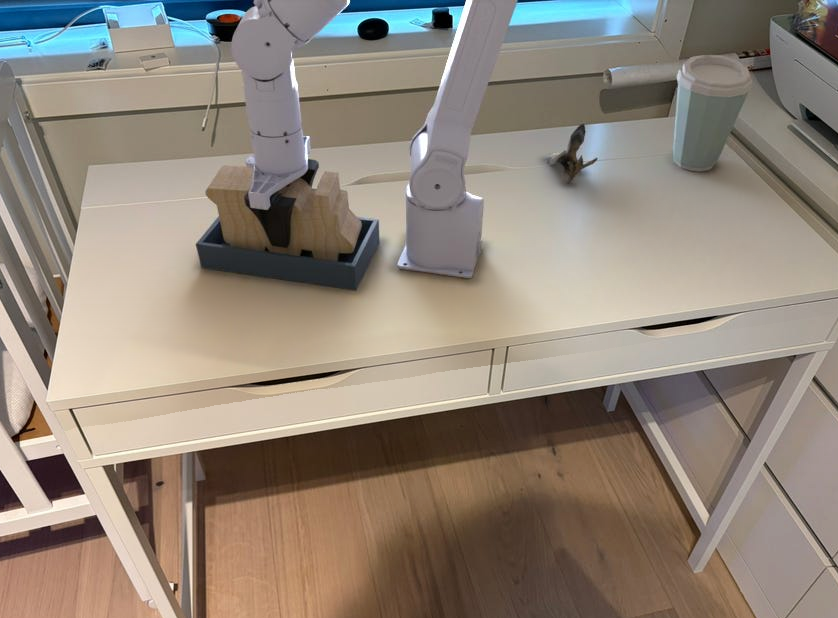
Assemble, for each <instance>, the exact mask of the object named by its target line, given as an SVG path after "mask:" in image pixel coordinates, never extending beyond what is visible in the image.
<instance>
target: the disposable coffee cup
mask: <svg viewBox="0 0 838 618" xmlns="http://www.w3.org/2000/svg"><path fill="white" fill-rule="evenodd" d="M676 81H677V93H676V105H675V106H676V107H675V119H674V132H673V145H672V157H673V162H674V164H675V165H676V166H677V167H679V168H680V169H683V170H687V171H689V172H705V171H710V170H711V169H712V168H713V167H714V166H715V164H716V163H718V161H719V160H720V159H719V158H720V156H721V154H722V151H723V150H724V148H725V146H726V143H727V141H728V139H729V137H730V134H731V132H732V130H733V128H734V126H735V123H736V121H737V118H738V117H739V115H740V112H741V110H742V108H743V106H744V103H745V101H746V99H747V97H748V94H749V92H750V91H751V90H752V89H753V88H752V87H753V79H752V77H751V73H750V71H749V68H748V67H747V66H745V65H744V64H743V63H742V62H740V61H739V60H736V59H734V58H731V57H728V56H724V55H716V54H701V55H694V56H691V57H689V58H688V59H687V60H686V61H685V62H684V63H683V65H682V67H681V68H680V69H678V71H677V75H676Z"/></svg>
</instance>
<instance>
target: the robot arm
mask: <svg viewBox="0 0 838 618" xmlns="http://www.w3.org/2000/svg"><path fill="white" fill-rule="evenodd" d="M350 2H351V0H253V4H254V6H252V7H250V8H249V9H248V10H247V11H245V12H244V14H243V16H242V18H241V19H240V21H239V23H238V25H237V27H236V29H235V30H234V32H233V35H232V39H231V44H230V45H231V46H230V47H231V54H232V58H233V60H234V62H235V65H236V66H237V67H238V68H239V69H240V71H241V77H242V83H243V87H242V89H243V95H244V102H245V103H244V104H245V109H246V114H247V121H248V127H249V133H250V140H251V146H252V153H253V154H252V155H250V156H249V157H247V159H246V160H245V167H247V168H252V169H253V178H252V186H251V189H250V190H249V191H248V192H247V193H246V195H245V196H244V200H245V205H246V206H247V207H248V208H249V209H250V210H251V211H252V212H253V213H254V214H255V216H256V217H257V218H258V220H259V221H260V223H261V225H262V227H263V229H264V231H265V233H266V235H267V237H268V239H269V241H270V243H271V245H272V246H276V247H283V248H287V247H288V246H289V243H290V222H291V214H292V210H293V206H294V204H295V201H296V198H291V197H283V196H282V193H280V194H279V190H280V189H282V188H283V187H285V186H286V187H289V186H290V184H291V182H293V181H294V180H296V179H298V178H301V179H303V180H305V181H306V182H307V183H308V184H309V185H310V187H311V188H313V184H314V180H315V178H316V175H317V172H318V170H319V168H320V164H319V161H318V160H316V159H313V158H312V159H311V158H309V154H310V153H311V151H312V147H311V138H310V135H309V136H308V135H304V132H303V124H302V113H301V107H300V106H301V105H300V104H301V103H300V96H299V85H298V82H297V80H296V73H295V64H294V57H293V52H294V50H295V49H298V48H301V47H304V46H306V45H307V44H308V43H310V41H311V40H313V38H314V37H316V36H317V35H318V34H319V33H320V32H321V31H322V30H323V29H324V28H326V26H327V25H328V24H330V23H331V22H332V21H333V20H334V19H335V18H336V17H337V16H338V15H339V14H340V13H341V12H343V11H344V10H345V9H346V8H347V7H348V6H349V5H350ZM517 5H518V0H465V4H464V7H463V11H462V13H461V17H460V20H459V23H458V27H457V30H456V33H455V36H454V38H453V42H452V45H451V49H450V52H449V55H448V59H447V61H446V65H445V69H444V71H443V74H442V77H441V81H440V84H439V87H438V90H437V94H436V96H435V99H434V103H433V105H432V107H431V109H430V110H429V111H428V113H427V116H426V119H425V122H424V124H422V127H420V129H419V130H418V131H417V132H416V133H415V134H414V135H413V136H412V139H411V141H410V144H409V156H410V175H409V181H408V184H407V185H406V187H405V245H404V248H403V250H402V252H401V255H400V257H399V259H398V261H397V264H396V265H397V269H400V270H406V271H407V270H408V271H415V272H422V273H429V274H435V275H443V276H450V277H456V278H464V279H472V278H473V275H474V272H475V269H476V265H477V262H478V258H479V255H481V251H482V246H483V240H482V236H483V235H482V233H483V232H482V231H483V222H484V221H483V220H484V204H485V202H484V201H485V200H484V198H483V197H481V196H477V195H474V194H471V193H470V192H467V189H466V188H467V187H466V176H465V172H464V171H465V166H466V163H467V160H468V156H469V151H470V146H471V145H470V144H471V136H472V131H473V127H474V125H475V122H476V119H477V116H478V113H479V111H480V108H481V105H482V102H483V100H484V97H485V94H486V91H487V89H488V85H489V82H490V79H491V77H492V74H493V71H494V69H495V66H496V63H497V60H498V58H499V54H500V51H501V50H502V49H501V48H502V45H503V43H504V41H505V37H506V35H507V32H508V29H509V26H510V24H511V21H512V18H513V16H514V15H513V14H514V13H515V9H516V6H517Z"/></svg>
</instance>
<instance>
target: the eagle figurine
mask: <svg viewBox="0 0 838 618" xmlns="http://www.w3.org/2000/svg"><path fill="white" fill-rule="evenodd" d="M586 132H587V131H586V126H585V123H580V124H579V125H578V126H577V127H576V128H575V130H573V132H572V133H571V134H570V137H569V140H568V143H567V146H566V150H562V151H561V152H559V151H558V152H554V153H551V154H549V155H548V156H547V157H545V158H544V161H545V162H546V164H548V165H550V166H553V165H556V164H557V163H559V164H560V165H561V166H562V168H563V170H564V171H563V173H564V174H567V175H568V177H567V181H566V184H567V185H570V184H571V182H572V181H573V180H574V178H576V175H578V173H580V174H582V173H583V171H582V170H583V169H585V168H587V167H589V166H592V165H594V164H595V163H596V162H597V160H599V158H598V157H595V158H593V159H591V160H590V161H588V162H586V163H584V158H583V155H582V154H581V155H580V157H579V158H577V152H578V151H579V149H580V147H581V146H582V145H583V143H584V141H585V137H586Z"/></svg>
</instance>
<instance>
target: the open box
mask: <svg viewBox="0 0 838 618" xmlns="http://www.w3.org/2000/svg"><path fill="white" fill-rule="evenodd" d="M357 217H358V218H359V220H360V221H361V223H362V227H361V230H360V233H359V236H358V239H357V242H356V245H355V248H354V251H353V252H352V253H340V255H339V258H338V261H331V260H324V259H317V258H314V256H313V253H312V251H310V250H302V252H301V255H300V256H296V255H289V254H282V253H275V252H270V251H269V250H268V249H267V248H266V250H265V251H261V250H254V249H247V248H240V247H233V246H231V245H230V244H229V243H226V242H225V240H224V237H223V233H222V228H221V223H220V218H219V215H218V216H217V218H216V219H215V220H214V221H213V222H212V224H210V226H209V227H208V228H207V230H206V231H205V232H204V233H203V234H202V236H201V237H200V238H199V239H198V240H197V242H196V243H195V247H196V252H197V255H198V260H199V264H200V268H201V269H207V270H212V271H219V272H226V273H227V272H228V273H232V274H233V273H235V274H241V275H248V276H254V277H255V276H256V277H262V278H267V279H274V280H275V279H276V280H282V281H288V282H295V283H303V284H308V285H316V286H321V287H322V286H323V287H329V288H336V289H344V290H350V291H357V290H358V288H359V286H360V284H361V283H362V279H363V278H364V275H365V274H366V272H367V269H368V268H369V266H370V264H371V261H372V259H373V257H374V255H375V253H376V251H377V249H378V247H379V244H380V220H379V219H378V218H370V217H363V216H357Z"/></svg>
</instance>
